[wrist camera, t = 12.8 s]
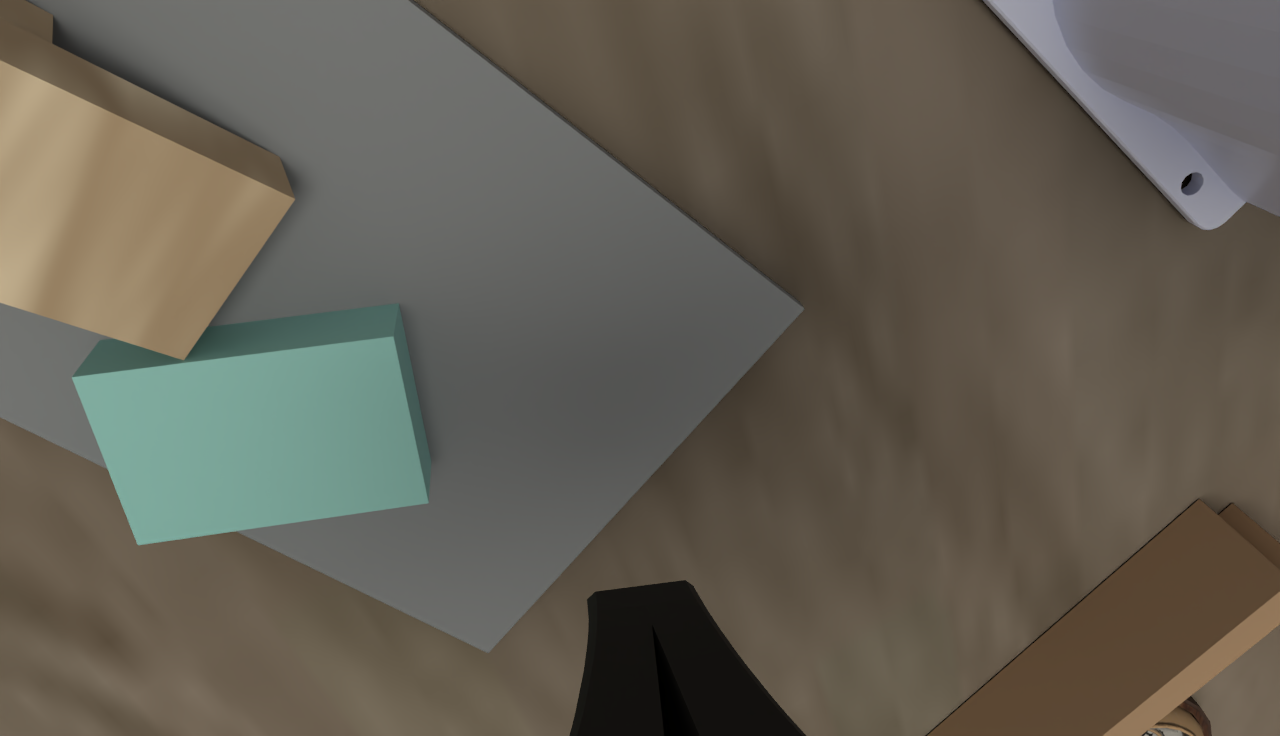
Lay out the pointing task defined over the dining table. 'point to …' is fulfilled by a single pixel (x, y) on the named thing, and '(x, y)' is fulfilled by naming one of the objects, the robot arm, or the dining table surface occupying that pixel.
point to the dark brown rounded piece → (1182, 722)
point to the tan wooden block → (28, 17)
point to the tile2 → (122, 201)
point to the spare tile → (260, 424)
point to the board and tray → (548, 340)
